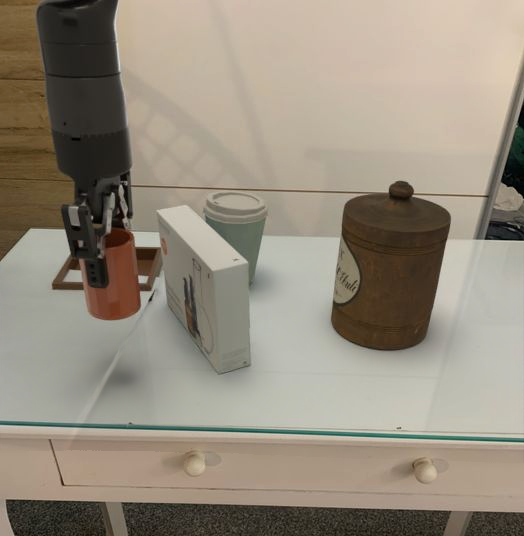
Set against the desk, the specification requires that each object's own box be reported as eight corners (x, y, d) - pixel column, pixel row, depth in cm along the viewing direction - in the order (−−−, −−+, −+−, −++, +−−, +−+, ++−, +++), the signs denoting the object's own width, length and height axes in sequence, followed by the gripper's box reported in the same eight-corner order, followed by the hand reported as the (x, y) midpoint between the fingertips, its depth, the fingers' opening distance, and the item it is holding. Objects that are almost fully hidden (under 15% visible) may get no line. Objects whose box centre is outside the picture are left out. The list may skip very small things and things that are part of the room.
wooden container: (337, 294, 93) (353, 161, 81) (428, 307, 90) (459, 172, 78) (322, 341, 81) (339, 194, 69) (426, 358, 79) (462, 208, 66)
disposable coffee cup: (237, 261, 102) (237, 181, 94) (279, 282, 96) (283, 198, 88) (192, 279, 96) (188, 195, 88) (234, 302, 90) (234, 214, 81)
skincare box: (163, 304, 89) (154, 208, 80) (194, 297, 91) (190, 203, 82) (215, 376, 74) (212, 268, 65) (251, 366, 76) (254, 260, 67)
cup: (79, 317, 65) (66, 247, 60) (99, 292, 70) (89, 224, 65) (131, 323, 65) (123, 252, 59) (147, 296, 70) (141, 229, 65)
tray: (54, 299, 89) (51, 283, 88) (78, 259, 101) (75, 245, 100) (151, 300, 90) (150, 285, 88) (163, 261, 102) (162, 247, 100)
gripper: (81, 104, 61) (101, 244, 71) (18, 137, 50) (52, 300, 59) (147, 109, 61) (158, 249, 70) (99, 143, 49) (120, 306, 59)
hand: (109, 272), depth 65 cm, fingers closed on cup, 6 cm apart
